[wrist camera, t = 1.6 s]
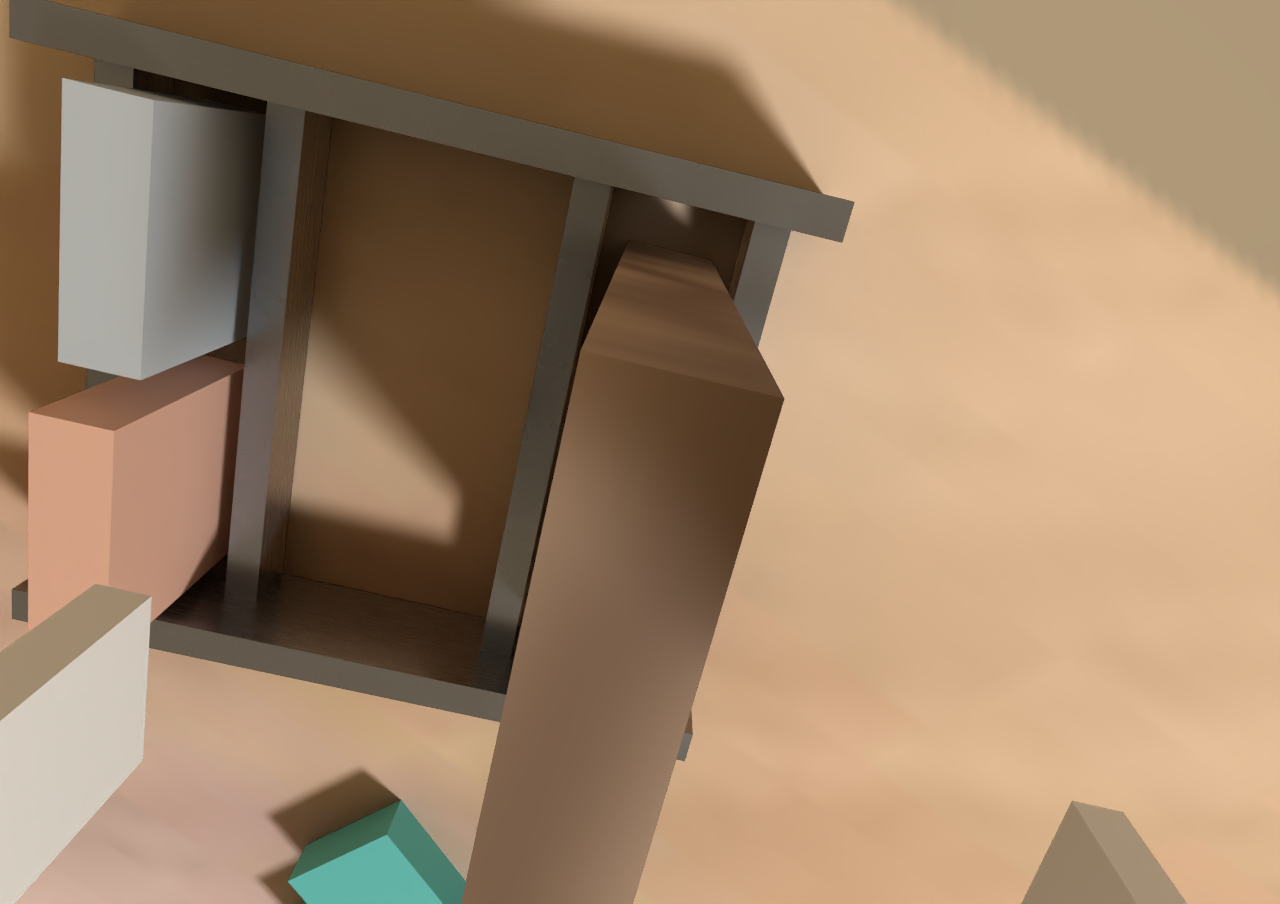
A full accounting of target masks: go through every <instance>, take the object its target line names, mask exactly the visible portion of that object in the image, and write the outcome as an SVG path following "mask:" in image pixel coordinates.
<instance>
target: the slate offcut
mask: <svg viewBox="0 0 1280 904" xmlns="http://www.w3.org/2000/svg"><path fill="white" fill-rule="evenodd" d="M265 122H266V114H262V113H258V112H254V111H250V110H246V109H242V108H238V107H233V106H229V105H225V104H221V103H217V102H213V101H209V100H205V99H201V98H194V97H187V96H181V95H174V94H167V93H160V92H154V91H147V90H140V89H134V88H127V87H120V86H114V85H107V84H100V83H94V82H87V81H80V80H73V79H67V78H62V118H61V185H60V251H59V318H58V362H62V363H66V364H71V365H75V366H80V367H84V368H88V369H93V370H97V371H102V372H106V373H110V374H115V375H119V376H123V377H128V378H132V379H137V380H143V379H145V378H148V377H150V376H152V375H155V374H157V373H160V372H162V371H165V370H167V369H170V368H172V367H174V366H177V365H179V364H182V363H184V362H187V361H189V360H192V359H194V358H196V357H199V356H201V355H204V354H206V353H209V352H211V351H213V350H216V349H218V348H221V347H223V346H226V345H228V344H231V343H233V342H235V341H238V340H240V339H243V338H245V337H247V330H248V319H249V307H250V296H251V284H252V273H253V261H254V249H255V238H256V226H257V215H258V203H259V192H260V180H261V169H262V157H263V145H264V134H265Z"/></svg>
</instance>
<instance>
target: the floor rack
mask: <svg viewBox="0 0 1280 904" xmlns="http://www.w3.org/2000/svg"><path fill="white" fill-rule="evenodd" d="M10 38H13V39H17V40H22V41H26V42H30V43H34V44H38V45H42V46H46V47H50V48H54V49H58V50H62V51H66V52H70V53H74V54H78V55H82V56H86V57H91V58H95V69H94V83H100V84H107V85H114V86H120V87H127V88H134V89H140V90H147V91H154V92H160V93H167V94H174V85H175V78H176V79H180V80H184V81H188V82H192V83H196V84H200V85H204V86H208V87H212V88H216V89H220V90H224V91H229V92H233V93H237V94H241V95H245V96H249V97H253V98H257V99H261V100H265V101H267V111H266V122H265V134H264V145H263V157H262V169H261V180H260V192H259V203H258V215H257V226H256V238H255V249H254V261H253V273H252V284H251V296H250V307H249V319H248V330H247V342H246V353H245V365H244V376H243V388H242V400H241V411H240V423H239V434H238V446H237V457H236V469H235V480H234V492H233V504H232V515H231V527H230V538H229V550H228V561H222V560H220V561H219V562H218V563H217V564H215V565H214V566H213V567H212V568H211V569H210V570H209V571H208V572H207V573H205V574H204V575H203V576H202V577H201V578H200V579H199V580H198V581H197V582H195V583H194V584H193V585H192V586H191V587H190V588H189V589H188V590H186V591H185V592H184V593H183V594H182V595H181V596H180V597H179V598H178V599H176V600H175V601H174V602H173V603H172V604H171V605H170V606H169V607H168V608H166V609H165V610H164V611H163V612H162V613H161V614H160V615H159V616H158V617H156V618H155V619H154V620H153V621H152V622H151V623H150V637H149V648H153V649H157V650H162V651H167V652H171V653H176V654H181V655H186V656H190V657H195V658H200V659H205V660H209V661H214V662H219V663H223V664H228V665H233V666H238V667H242V668H247V669H252V670H256V671H261V672H266V673H271V674H275V675H280V676H285V677H290V678H294V679H299V680H304V681H308V682H313V683H318V684H323V685H327V686H332V687H337V688H341V689H346V690H351V691H356V692H360V693H365V694H370V695H375V696H379V697H384V698H389V699H393V700H398V701H403V702H408V703H412V704H417V705H422V706H426V707H431V708H436V709H441V710H445V711H450V712H455V713H460V714H464V715H469V716H474V717H478V718H483V719H488V720H493V721H497V722H501V717H502V712H503V708H504V703H505V699H506V694H507V689H508V685H509V680H510V675H511V671H512V666H513V661H514V657H515V652H516V648H517V643H518V638H519V634H520V629H521V625H520V623H521V619H522V614H523V609H524V605H525V600H526V595H527V591H528V586H529V581H530V577H531V572H532V567H533V563H534V558H535V554H536V549H537V544H538V540H539V535H540V530H541V526H542V521H543V516H544V512H545V507H546V502H547V498H548V493H549V488H550V484H551V479H552V475H553V470H554V465H555V461H556V456H557V451H558V447H559V442H560V437H561V433H562V428H563V423H564V419H565V414H566V409H567V405H568V400H569V395H570V391H571V386H572V382H573V377H574V372H575V368H576V363H577V358H578V354H579V349H580V344H581V340H582V335H583V330H584V326H585V321H586V316H587V312H588V307H589V303H590V298H591V293H592V289H593V284H594V279H595V275H596V270H597V265H598V261H599V256H600V251H601V247H602V242H603V237H604V233H605V228H606V224H607V219H608V214H609V210H610V205H611V200H612V196H613V191H614V187H618V188H622V189H626V190H630V191H634V192H639V193H643V194H647V195H651V196H655V197H659V198H663V199H667V200H671V201H675V202H679V203H683V204H687V205H691V206H695V207H699V208H704V209H708V210H712V211H716V212H720V213H724V214H728V215H732V216H736V217H740V218H744V219H748V220H747V224H746V227H745V231H744V235H743V239H742V242H741V246H740V250H739V254H738V257H737V261H736V265H735V269H734V272H733V276H732V280H731V284H730V287H729V291H728V293H729V295H730V297H731V299H732V301H733V302H734V304H735V306H736V308H737V310H738V312H739V314H740V316H741V318H742V319H743V321H744V323H745V325H746V327H747V329H748V331H749V333H750V335H751V336H752V338H753V340H754V342H755V344H756V346H757V348H758V345H759V341H760V338H761V334H762V331H763V327H764V324H765V320H766V317H767V313H768V310H769V306H770V303H771V299H772V296H773V292H774V288H775V285H776V281H777V278H778V274H779V271H780V267H781V264H782V260H783V257H784V253H785V250H786V246H787V243H788V239H789V236H790V232H791V230H793V231H797V232H801V233H805V234H809V235H813V236H817V237H821V238H825V239H829V240H833V241H837V242H843V238H844V235H845V232H846V228H847V225H848V222H849V219H850V215H851V212H852V209H853V205H854V202H853V201H849V200H845V199H841V198H837V197H833V196H829V195H825V194H821V193H817V192H813V191H809V190H805V189H801V188H797V187H793V186H788V185H784V184H780V183H776V182H772V181H768V180H764V179H760V178H756V177H752V176H748V175H744V174H740V173H736V172H732V171H728V170H724V169H720V168H716V167H712V166H708V165H704V164H700V163H696V162H692V161H688V160H684V159H680V158H676V157H672V156H668V155H664V154H660V153H656V152H652V151H648V150H644V149H640V148H636V147H632V146H628V145H624V144H620V143H616V142H612V141H608V140H604V139H600V138H596V137H592V136H588V135H584V134H580V133H576V132H572V131H568V130H564V129H560V128H556V127H552V126H548V125H544V124H540V123H536V122H532V121H528V120H524V119H520V118H515V117H511V116H507V115H503V114H499V113H495V112H491V111H487V110H483V109H479V108H475V107H471V106H467V105H463V104H459V103H455V102H451V101H447V100H443V99H439V98H435V97H431V96H427V95H423V94H419V93H415V92H411V91H407V90H403V89H399V88H395V87H391V86H387V85H383V84H379V83H375V82H371V81H367V80H363V79H359V78H355V77H351V76H347V75H343V74H339V73H335V72H331V71H327V70H323V69H319V68H315V67H311V66H307V65H303V64H299V63H295V62H291V61H287V60H283V59H279V58H275V57H271V56H267V55H263V54H259V53H255V52H251V51H247V50H242V49H238V48H234V47H230V46H226V45H222V44H218V43H214V42H210V41H206V40H202V39H198V38H194V37H190V36H186V35H182V34H178V33H174V32H170V31H166V30H162V29H158V28H154V27H150V26H146V25H142V24H138V23H134V22H130V21H126V20H122V19H118V18H114V17H110V16H106V15H102V14H98V13H94V12H90V11H86V10H82V9H78V8H74V7H70V6H66V5H62V4H58V3H54V2H50V1H46V0H10ZM333 117H334V118H338V119H342V120H346V121H350V122H354V123H358V124H363V125H367V126H371V127H375V128H379V129H383V130H387V131H391V132H395V133H399V134H403V135H407V136H411V137H415V138H419V139H423V140H427V141H432V142H436V143H440V144H444V145H448V146H452V147H456V148H460V149H464V150H468V151H472V152H476V153H480V154H484V155H488V156H492V157H496V158H501V159H505V160H509V161H513V162H517V163H521V164H525V165H529V166H533V167H537V168H541V169H545V170H549V171H553V172H557V173H561V174H565V175H570V176H574V177H575V178H574V183H573V188H572V193H571V198H570V203H569V208H568V213H567V218H566V223H565V228H564V233H563V238H562V243H561V248H560V253H559V258H558V263H557V268H556V273H555V278H554V283H553V288H552V293H551V298H550V303H549V308H548V313H547V318H546V323H545V328H544V333H543V338H542V343H541V348H540V353H539V358H538V363H537V368H536V373H535V378H534V383H533V388H532V393H531V398H530V403H529V408H528V413H527V418H526V423H525V428H524V433H523V438H522V443H521V448H520V453H519V458H518V463H517V468H516V473H515V478H514V483H513V488H512V493H511V498H510V503H509V508H508V513H507V518H506V523H505V528H504V533H503V538H502V543H501V548H500V553H499V558H498V563H497V568H496V573H495V578H494V583H493V588H492V593H491V598H490V603H489V608H488V613H487V618H484V617H479V616H475V615H470V614H465V613H461V612H456V611H452V610H447V609H443V608H438V607H433V606H429V605H424V604H420V603H415V602H410V601H406V600H401V599H397V598H392V597H387V596H383V595H378V594H374V593H369V592H365V591H360V590H355V589H351V588H346V587H342V586H337V585H332V584H328V583H323V582H319V581H314V580H309V579H305V578H300V577H296V576H291V575H287V574H282V573H283V564H284V555H285V546H286V537H287V527H288V518H289V509H290V500H291V491H292V482H293V473H294V464H295V455H296V446H297V437H298V428H299V419H300V409H301V400H302V391H303V382H304V373H305V364H306V355H307V346H308V337H309V328H310V319H311V310H312V301H313V292H314V282H315V273H316V264H317V255H318V246H319V237H320V228H321V219H322V210H323V201H324V192H325V183H326V174H327V164H328V155H329V146H330V137H331V128H332V119H333ZM117 377H120V376H119V375H115V374H110V373H106V372H102V371H97V370H93V369H88V368H87V383H86V389H89V388H92V387H94V386H97V385H99V384H102V383H104V382H107V381H109V380H112V379H115V378H117ZM12 619H16V620H20V621H25V622H28V579H27V580H25V581H24V582H22V583H21V584H19V585H18V586H16V587H15V588H13V589H12ZM692 735H693V732H692V714H691V711H690V715H689V718H688V721H687V725H686V728H685V731H684V735H683V738H682V741H681V745H680V748H679V751H678V755H677V758H676V759H677V760H682V761H685V758H686V755H687V752H688V748H689V745H690V742H691V738H692Z"/></svg>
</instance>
